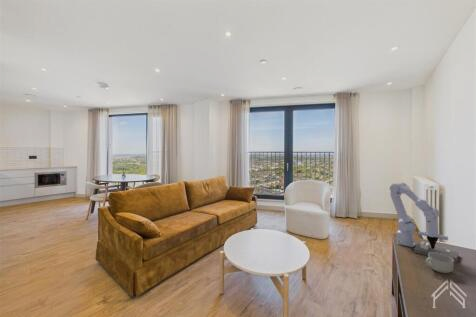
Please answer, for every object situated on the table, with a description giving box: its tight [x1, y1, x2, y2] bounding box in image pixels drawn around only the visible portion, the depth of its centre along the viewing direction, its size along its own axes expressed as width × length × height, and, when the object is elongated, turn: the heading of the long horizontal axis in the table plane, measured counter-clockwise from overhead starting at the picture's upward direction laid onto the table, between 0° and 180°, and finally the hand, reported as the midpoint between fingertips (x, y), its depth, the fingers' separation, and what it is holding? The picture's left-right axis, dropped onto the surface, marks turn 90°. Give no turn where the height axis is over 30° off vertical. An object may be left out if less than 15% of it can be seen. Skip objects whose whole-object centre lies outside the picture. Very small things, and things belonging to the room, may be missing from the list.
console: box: [413, 243, 459, 263], centre depth 142 cm, size 20×12×2 cm, turn 41°
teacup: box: [425, 252, 455, 274], centre depth 123 cm, size 14×11×8 cm
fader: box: [419, 241, 431, 250], centre depth 146 cm, size 4×5×3 cm
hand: (432, 248), depth 143 cm, fingers closed
